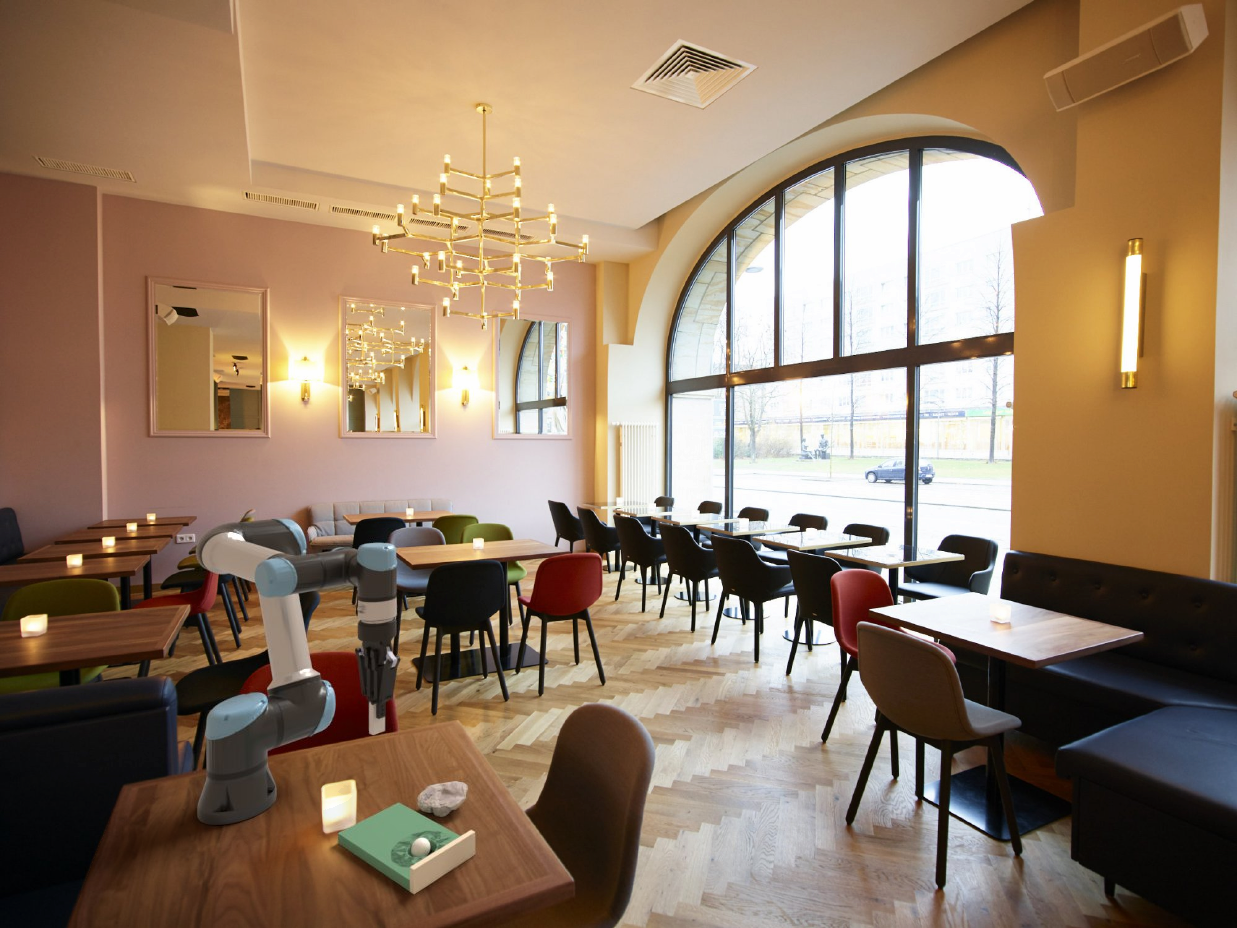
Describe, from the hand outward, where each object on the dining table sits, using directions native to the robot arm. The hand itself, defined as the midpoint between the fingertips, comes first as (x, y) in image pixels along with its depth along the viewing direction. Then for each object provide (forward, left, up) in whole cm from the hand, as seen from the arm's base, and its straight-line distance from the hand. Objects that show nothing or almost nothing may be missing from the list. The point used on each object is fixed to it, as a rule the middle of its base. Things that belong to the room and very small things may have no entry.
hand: (377, 731), depth 131 cm
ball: (+14, 0, -19) cm, 24 cm away
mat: (+9, 0, -21) cm, 23 cm away
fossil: (+4, +14, -21) cm, 26 cm away
